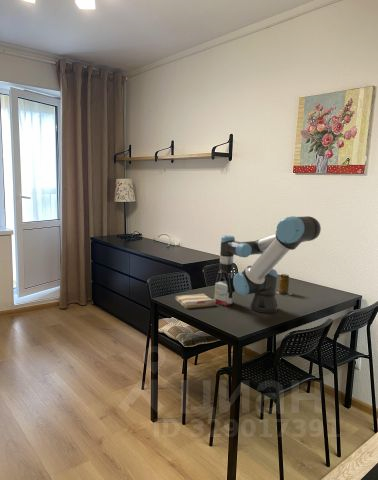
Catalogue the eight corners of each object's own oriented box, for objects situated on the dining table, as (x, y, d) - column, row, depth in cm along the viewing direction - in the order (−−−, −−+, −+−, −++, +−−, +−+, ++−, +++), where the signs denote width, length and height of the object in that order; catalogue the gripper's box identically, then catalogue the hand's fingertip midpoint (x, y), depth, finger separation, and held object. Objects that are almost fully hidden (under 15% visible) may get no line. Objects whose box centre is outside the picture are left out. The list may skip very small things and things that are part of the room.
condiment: (282, 291, 243) (283, 273, 241) (293, 294, 236) (294, 276, 235) (275, 292, 238) (276, 274, 236) (286, 296, 232) (287, 277, 230)
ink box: (226, 306, 208) (227, 285, 206) (213, 302, 213) (214, 282, 211) (234, 302, 214) (235, 282, 213) (221, 299, 219) (222, 280, 218)
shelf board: (215, 305, 208) (215, 299, 207) (186, 308, 201) (186, 302, 200) (203, 296, 223) (203, 291, 222) (175, 299, 216) (175, 293, 215)
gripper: (242, 267, 201) (240, 305, 204) (222, 258, 222) (220, 293, 226) (230, 268, 198) (228, 307, 201) (211, 258, 219) (209, 294, 223)
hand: (224, 299), depth 213 cm, fingers open, 11 cm apart
